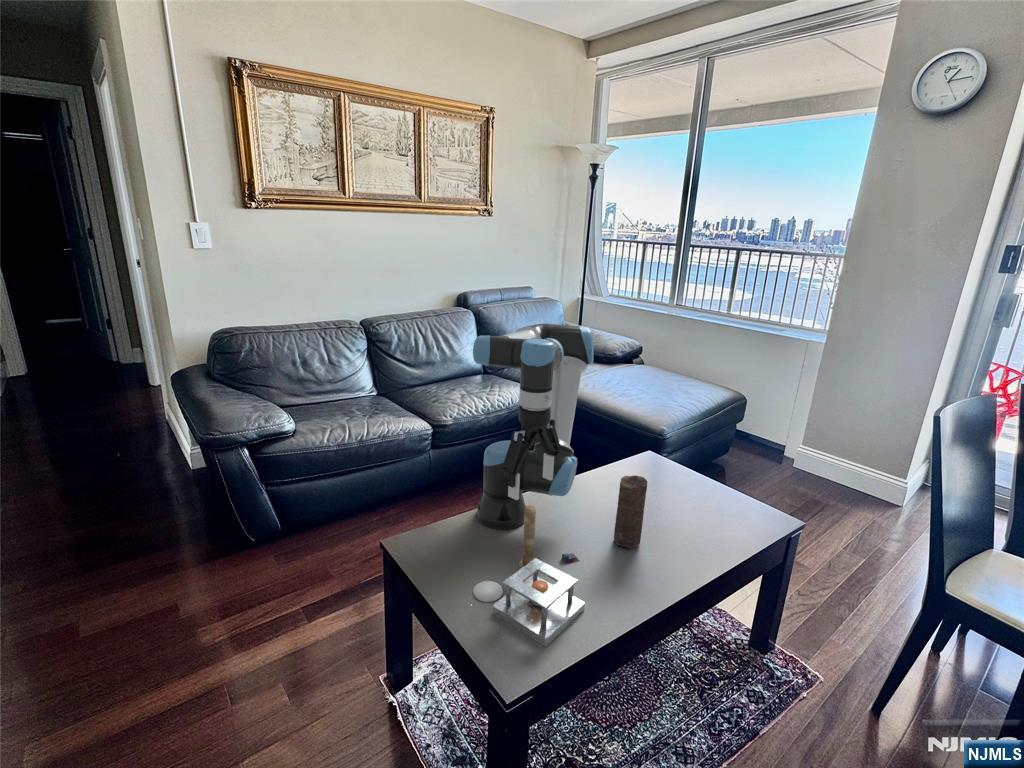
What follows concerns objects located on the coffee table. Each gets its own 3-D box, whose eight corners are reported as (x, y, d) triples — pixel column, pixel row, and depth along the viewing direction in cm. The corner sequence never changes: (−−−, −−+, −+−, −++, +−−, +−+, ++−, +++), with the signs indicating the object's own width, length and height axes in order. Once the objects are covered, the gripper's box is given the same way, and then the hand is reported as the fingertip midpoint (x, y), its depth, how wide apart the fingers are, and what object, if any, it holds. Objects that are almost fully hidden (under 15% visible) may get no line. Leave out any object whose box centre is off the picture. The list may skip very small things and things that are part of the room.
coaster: (467, 592, 124) (467, 591, 124) (487, 578, 129) (487, 577, 129) (488, 606, 120) (488, 605, 120) (508, 591, 125) (508, 590, 125)
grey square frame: (492, 612, 118) (493, 582, 115) (533, 581, 129) (534, 552, 126) (545, 647, 109) (547, 614, 106) (584, 609, 120) (586, 579, 117)
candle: (640, 553, 141) (648, 487, 136) (613, 549, 143) (619, 483, 137) (639, 537, 148) (647, 474, 143) (613, 534, 150) (619, 471, 144)
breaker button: (528, 600, 118) (528, 585, 116) (537, 592, 120) (538, 578, 119) (540, 608, 115) (541, 593, 114) (550, 600, 118) (551, 585, 117)
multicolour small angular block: (567, 566, 136) (567, 558, 135) (561, 560, 138) (562, 552, 137) (580, 562, 137) (581, 555, 137) (575, 556, 140) (576, 549, 139)
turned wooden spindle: (515, 567, 134) (517, 508, 129) (526, 559, 137) (528, 502, 132) (529, 574, 131) (531, 515, 126) (539, 566, 134) (542, 508, 130)
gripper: (513, 423, 110) (510, 512, 116) (578, 397, 128) (572, 475, 134) (487, 414, 114) (485, 501, 120) (553, 391, 133) (548, 466, 139)
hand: (531, 487), depth 127 cm, fingers open, 13 cm apart
